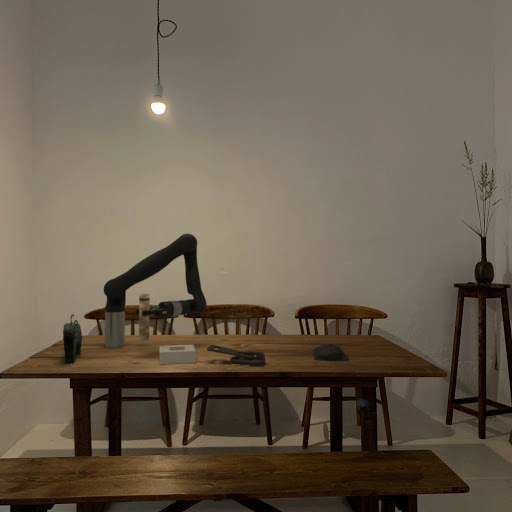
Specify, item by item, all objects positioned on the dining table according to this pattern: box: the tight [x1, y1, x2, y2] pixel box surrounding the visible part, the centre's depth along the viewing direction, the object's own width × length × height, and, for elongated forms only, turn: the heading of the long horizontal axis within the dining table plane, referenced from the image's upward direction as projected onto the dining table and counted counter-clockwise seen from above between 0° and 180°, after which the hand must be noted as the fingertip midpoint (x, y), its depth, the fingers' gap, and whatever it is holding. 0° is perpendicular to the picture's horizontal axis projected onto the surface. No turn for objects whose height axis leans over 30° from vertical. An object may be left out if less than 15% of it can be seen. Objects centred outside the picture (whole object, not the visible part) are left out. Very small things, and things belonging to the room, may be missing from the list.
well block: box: [159, 344, 197, 365], centre depth 206 cm, size 15×13×5 cm
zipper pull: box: [206, 344, 266, 367], centre depth 201 cm, size 9×7×25 cm
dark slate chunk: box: [312, 343, 350, 362], centre depth 215 cm, size 15×22×5 cm
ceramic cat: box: [62, 313, 83, 365], centre depth 207 cm, size 20×6×20 cm, turn 9°
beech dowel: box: [138, 293, 151, 341], centre depth 211 cm, size 5×5×20 cm
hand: (139, 312), depth 209 cm, fingers closed on beech dowel, 4 cm apart
